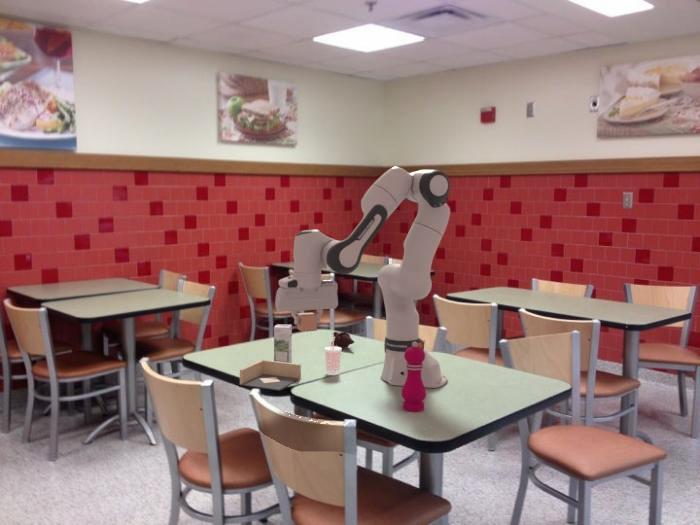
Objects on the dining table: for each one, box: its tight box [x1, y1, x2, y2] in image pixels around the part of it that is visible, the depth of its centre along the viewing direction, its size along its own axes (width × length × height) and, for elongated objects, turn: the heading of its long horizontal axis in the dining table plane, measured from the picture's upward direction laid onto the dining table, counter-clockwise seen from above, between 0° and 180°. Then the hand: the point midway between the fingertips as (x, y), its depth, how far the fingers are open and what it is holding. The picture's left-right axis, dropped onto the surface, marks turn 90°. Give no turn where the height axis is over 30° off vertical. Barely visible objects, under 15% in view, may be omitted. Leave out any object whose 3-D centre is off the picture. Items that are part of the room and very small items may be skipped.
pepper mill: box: [401, 342, 427, 413], centre depth 187 cm, size 7×7×20 cm
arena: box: [239, 359, 302, 392], centre depth 213 cm, size 15×15×5 cm
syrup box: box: [273, 323, 293, 363], centre depth 236 cm, size 6×6×14 cm
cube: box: [296, 312, 318, 333], centre depth 204 cm, size 5×5×5 cm
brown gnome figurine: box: [331, 331, 355, 350], centre depth 263 cm, size 7×7×15 cm
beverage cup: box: [323, 333, 342, 376], centre depth 224 cm, size 6×6×14 cm
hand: (306, 323), depth 204 cm, fingers closed on cube, 5 cm apart
